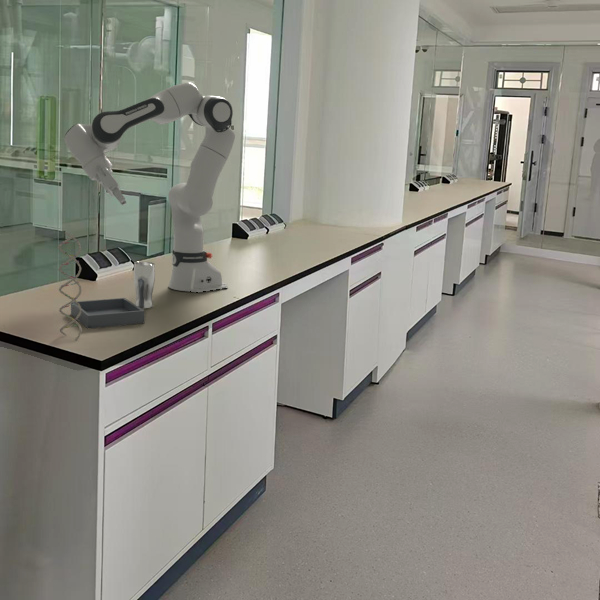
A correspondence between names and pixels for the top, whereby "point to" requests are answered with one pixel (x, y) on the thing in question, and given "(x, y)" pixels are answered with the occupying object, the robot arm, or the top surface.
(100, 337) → the top surface
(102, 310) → the box
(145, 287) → the beer glass
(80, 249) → the dna model
